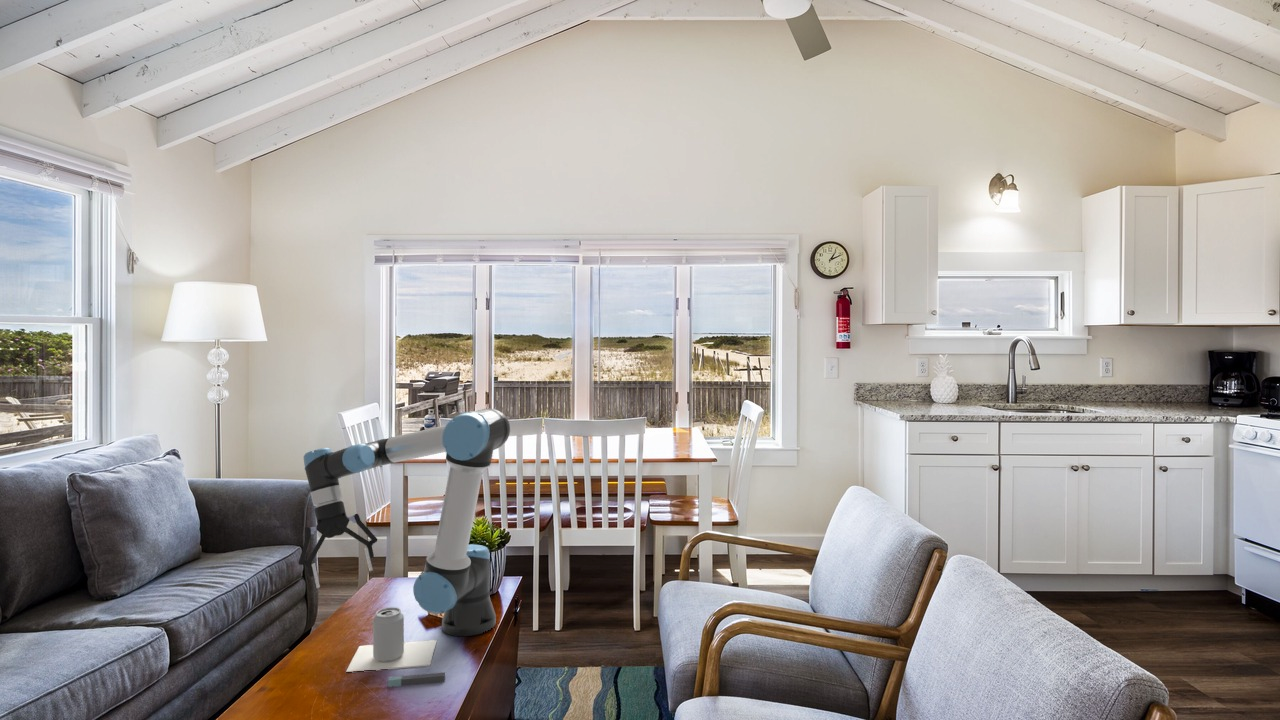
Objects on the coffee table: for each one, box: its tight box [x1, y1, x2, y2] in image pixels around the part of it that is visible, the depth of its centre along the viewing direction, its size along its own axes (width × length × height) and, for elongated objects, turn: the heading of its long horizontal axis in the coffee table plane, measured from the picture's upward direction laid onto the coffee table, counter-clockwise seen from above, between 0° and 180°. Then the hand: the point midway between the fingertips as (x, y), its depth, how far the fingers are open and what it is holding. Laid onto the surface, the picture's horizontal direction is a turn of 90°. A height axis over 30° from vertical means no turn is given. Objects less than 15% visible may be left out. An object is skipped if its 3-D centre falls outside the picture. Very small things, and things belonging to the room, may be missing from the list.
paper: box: [345, 639, 438, 673], centre depth 172 cm, size 20×14×1 cm
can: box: [372, 606, 405, 662], centre depth 171 cm, size 8×8×12 cm
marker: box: [387, 672, 446, 688], centre depth 159 cm, size 13×2×2 cm, turn 100°
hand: (345, 579), depth 183 cm, fingers open, 13 cm apart
